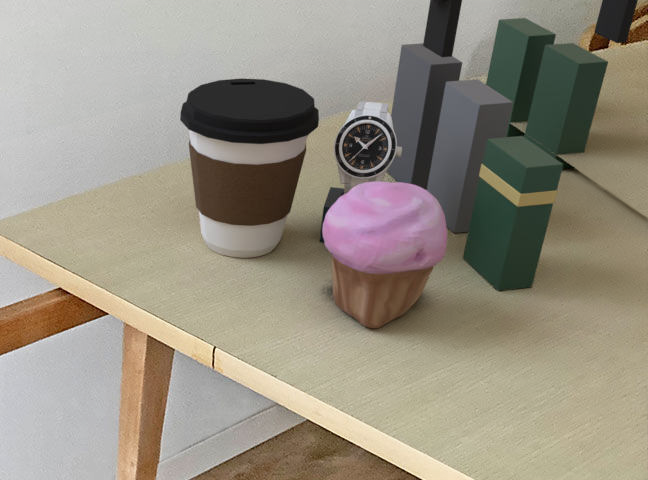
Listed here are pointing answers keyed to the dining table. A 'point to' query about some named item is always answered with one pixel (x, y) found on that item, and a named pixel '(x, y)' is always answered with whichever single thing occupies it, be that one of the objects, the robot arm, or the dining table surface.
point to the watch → (363, 150)
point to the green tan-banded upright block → (511, 211)
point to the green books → (546, 86)
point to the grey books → (443, 130)
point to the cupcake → (383, 248)
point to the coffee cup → (246, 159)
